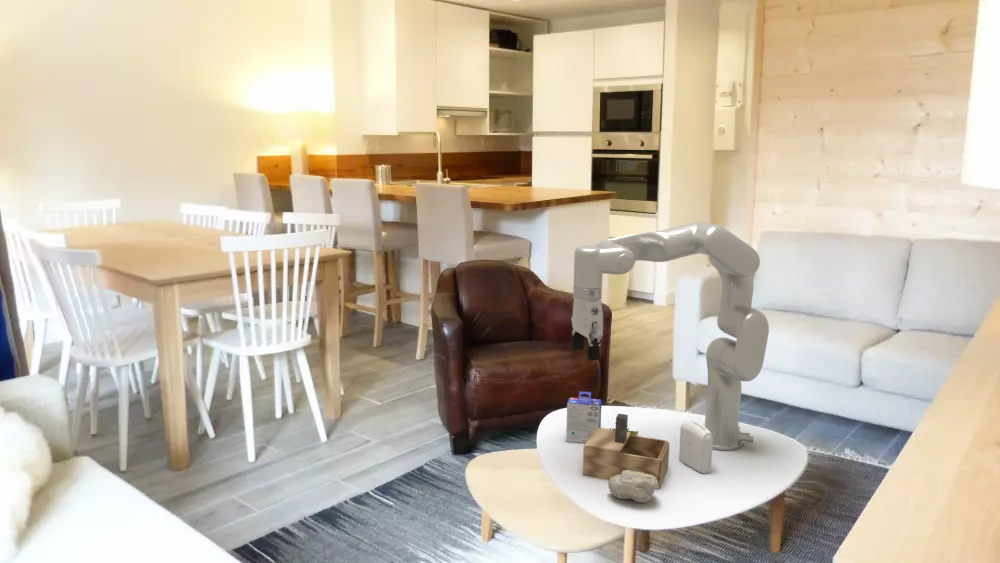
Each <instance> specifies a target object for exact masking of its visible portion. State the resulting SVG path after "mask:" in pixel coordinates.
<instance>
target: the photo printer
mask: <svg viewBox="0 0 1000 563" xmlns="http://www.w3.org/2000/svg"><path fill="white" fill-rule="evenodd" d="M680 425H681V426H680V428H679V429H680V434H679V450H678V452H679V453H678V460H679V461H680V462H681V463H683V464H685V465H686V466H688V467H690V468H691V469H693V470H695V471H696V472H699V473H701V474H707V473H709V472H710V471H711V470H712V461H713V459H712V458H713V448H712V445H713V435H712V433H711V432H710V431H709V430H708V429H707V428H706V427H705V425H703V424H701V423H700V422H697V421H695V420H686V421H683V422H682V424H680Z"/></svg>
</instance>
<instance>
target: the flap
mask: <svg viewBox="0 0 1000 563" xmlns="http://www.w3.org/2000/svg"><path fill="white" fill-rule="evenodd" d="M615 423H616V424H615V429H616V430H611V429H612V428H611V429H610V428H604V427H601V428H599V427H596V429H595V430H594V432H593V433H592V435H591V436H590V438H589V439H588V441H587V442H586V443H584V446H585V447H587V448H593V449H599V450H605V451H611V452H617V453H620V452H621V451H622V449H623V447H624V445H625V444H626V442H627V440H628V438H629V436H630V434H631V433H630V432H627V429H628V427H627V426H628V425H627V424H628V414H623V413H617V415H616V417H615Z"/></svg>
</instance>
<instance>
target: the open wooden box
mask: <svg viewBox="0 0 1000 563" xmlns="http://www.w3.org/2000/svg"><path fill="white" fill-rule="evenodd" d="M669 456H670V442H669V441H668V440H665V439H659V438H652V437H647V436H641V435H640V436H639V435H637V436H635V435H630V436H629V438H628V440H627V442H626V444H625V445H624V447H623V449H622V451H621V452H620V453H617V452H611V451H605V450H599V449H593V448H587V447H585V445H584V446H583V456H582V457H583V458H582V476H585V477H590V478H595V479H602V480H605V481H606V480H607V481H609V479H610V478H611V477H614V476H616V475H621V474H622V472H623V471H625V470H631V471H635V472H640V473H644V474H649V475H653V476H655V477H656V478H657V481H658V486H659V488H657V489H656V490H658V489H661V488H662V485H663V482H664V480H665V477H666V474H667V472H668V469H669V460H670V458H669Z"/></svg>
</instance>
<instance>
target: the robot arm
mask: <svg viewBox="0 0 1000 563" xmlns="http://www.w3.org/2000/svg"><path fill="white" fill-rule="evenodd" d="M697 254H702V255H705V256H707V257H708V261H709V263H710V264H711V266H712V267H714V269H716V271H717V273H718V274H719V277H720V279H721V295H720V302H719V306H718V313H717V321H716V324H717V327H718V329H719V330H720V331H721V332H722V333H724V334H727V335H728V336H731V337H732V338H735V340H734V339H732V338H730V337H729V338H728V337H718V338H715V339H713V340H711V342H710V343H709V344H708V346H707V349H706V353H705V356H706V357H705V358H706V367H707V368H706V369H707V386H706V387H707V388H706V400H705V402H706V404H705V414H704V415H705V416H704V427H706V428H707V429H708V430H709V431H710V432H711V433H712V435H713V445H712V450H716V451H735V450H738V449H740V448H742V446H743V442H745V443H746V442H747V443H751V444H752V443H753V444H754V440H755V439H754V437H755V436H754V435H751V434H750V432H743V431H741V427H740V426H739V424H740V423H739V422H740V410H741V408H740V407H741V398H742V397H741V396H742V382H751V381H753V380H755V379H756V378H757V377H758V376H759V375H760V373H761V371H762V369H763V365H764V362H765V357H766V352H767V351H766V350H767V345H768V340H769V339H768V338H769V333H770V332H769V331H770V326H769V321H768V318H767V317H766V315H765V314H764V313H763V312H761V310H758V309H756V308H753V306H752V303H753V295H754V279H753V276H754V275H755V274H756V273H757V271H758V269H759V268H760V265H761V263H760V262H761V260H760V255H759V253H758V251H756V249H754V248H753V247H752V246H751V245H749V244H748V243H746V242H745V241H744V240H742V238H739V237H738V236H736V235H735V234H734V233H732V232H731V231H730V230H728V229H727V228H725V227H723V226H720V225H718V224H714V223H710V222H706V221H705V222H704V221H694V222H690V223H686V224H683V225H682V224H681V225H678V226H674V227H671V228H666V229H663V230H656V231H649V232H648V231H647V232H642V233H634V234H633V233H631V234H625V235H621V236H616V237H613V238H612V237H611V238H609V239H605V240H601V241H599V242H598V243H596V244H595V245H580V246H577V247H576V248H575V250H574V255H573V256H574V259H573V289H572V290H573V292H572V298H573V303H572V304H573V305H572V316H571V317H570V319H571V320H570V321H571V328H572V331H571V335H572V339H571V340H572V341H571V349H572V350H573V351H578V350H584V344H585V343H584V342H585V341H584V340H585V338H587V342H588V345H587V356H586V359H587V361H589V362H591V361H598V360H600V350H601V348H600V347H601V343H602V341H603V335H604V334H603V333H604V332H603V331H604V312H603V305H602V304H603V303H602V294H603V274H607V275H618V276H619V275H625V274H627V273H629V272H630V271H631V270H633V268H634V266H635V263H636V261H645V262H653V263H664V262H665V263H666V262H670V261H673V260H677V259H681V258H685V257H689V256H692V255H697Z"/></svg>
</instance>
